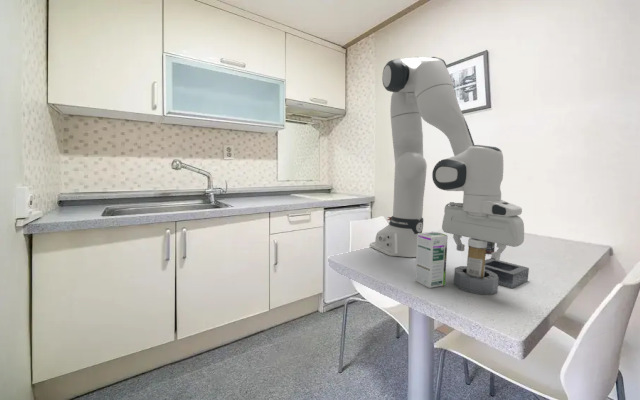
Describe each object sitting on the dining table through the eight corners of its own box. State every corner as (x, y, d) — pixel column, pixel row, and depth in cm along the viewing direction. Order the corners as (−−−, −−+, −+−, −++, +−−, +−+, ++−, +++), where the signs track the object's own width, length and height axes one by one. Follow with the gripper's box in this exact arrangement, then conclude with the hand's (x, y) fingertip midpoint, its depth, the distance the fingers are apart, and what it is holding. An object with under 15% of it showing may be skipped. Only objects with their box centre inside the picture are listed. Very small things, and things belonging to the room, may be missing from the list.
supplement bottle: (478, 248, 116) (480, 222, 115) (494, 251, 113) (496, 224, 112) (476, 252, 111) (478, 224, 110) (493, 254, 108) (496, 226, 107)
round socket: (446, 283, 78) (447, 270, 78) (465, 276, 84) (466, 264, 84) (484, 298, 69) (486, 283, 69) (503, 289, 75) (505, 275, 75)
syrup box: (430, 288, 75) (433, 236, 73) (414, 280, 80) (417, 232, 78) (445, 285, 77) (448, 235, 75) (429, 278, 82) (432, 230, 81)
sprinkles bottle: (486, 287, 76) (490, 240, 75) (477, 291, 74) (481, 242, 72) (470, 281, 80) (474, 236, 79) (461, 284, 78) (465, 238, 76)
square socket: (473, 276, 84) (474, 263, 84) (490, 270, 90) (491, 258, 90) (512, 288, 76) (513, 274, 75) (527, 280, 82) (529, 267, 81)
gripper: (439, 201, 81) (436, 247, 83) (518, 210, 64) (513, 267, 66) (451, 201, 85) (448, 244, 86) (529, 209, 68) (524, 263, 69)
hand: (476, 254), depth 76 cm, fingers open, 8 cm apart
